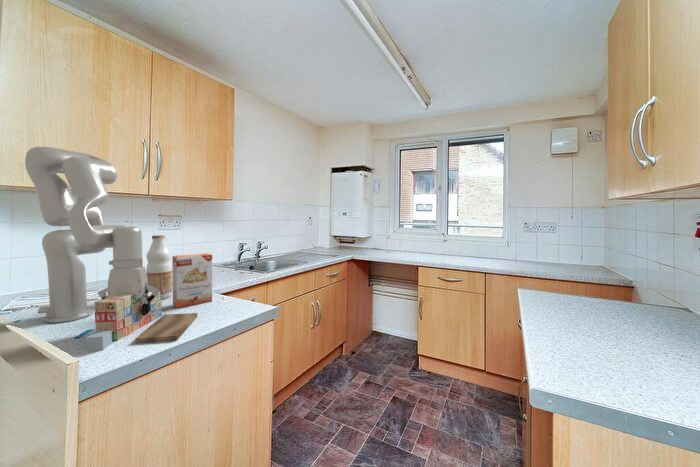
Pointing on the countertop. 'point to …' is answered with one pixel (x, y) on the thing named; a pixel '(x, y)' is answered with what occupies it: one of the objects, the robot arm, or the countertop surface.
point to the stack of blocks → (124, 314)
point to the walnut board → (167, 328)
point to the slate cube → (98, 340)
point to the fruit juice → (159, 266)
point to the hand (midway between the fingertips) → (129, 315)
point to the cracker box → (192, 279)
